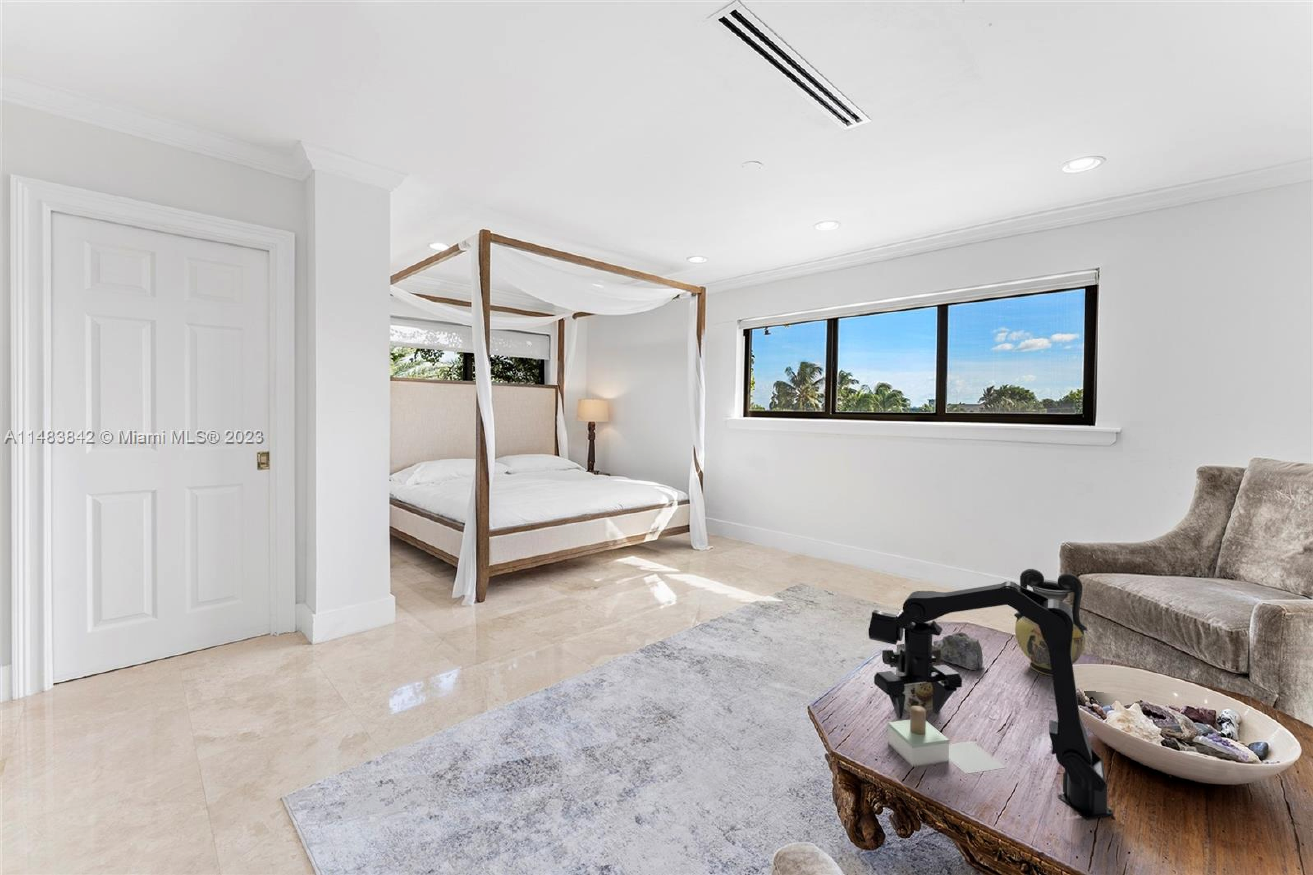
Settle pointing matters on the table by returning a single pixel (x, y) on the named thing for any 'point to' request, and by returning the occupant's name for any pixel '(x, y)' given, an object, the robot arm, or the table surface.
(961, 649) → the mineral rock
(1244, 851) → the table surface
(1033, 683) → the table surface
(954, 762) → the mat
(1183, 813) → the table surface
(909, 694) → the coffee box
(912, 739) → the lid
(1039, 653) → the amphora
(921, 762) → the white open tray
